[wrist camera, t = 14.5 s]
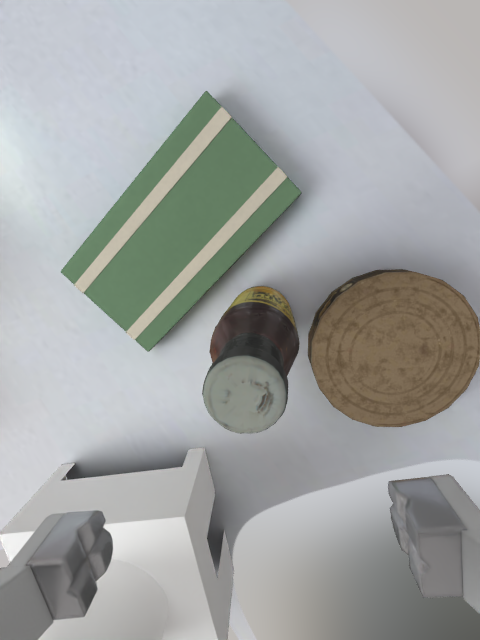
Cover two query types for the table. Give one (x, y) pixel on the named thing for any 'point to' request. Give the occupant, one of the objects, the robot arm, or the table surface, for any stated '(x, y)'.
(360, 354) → the wooden log slice
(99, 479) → the paper towel holder
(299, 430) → the table surface
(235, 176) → the towel
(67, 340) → the table surface
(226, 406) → the sauce bottle
